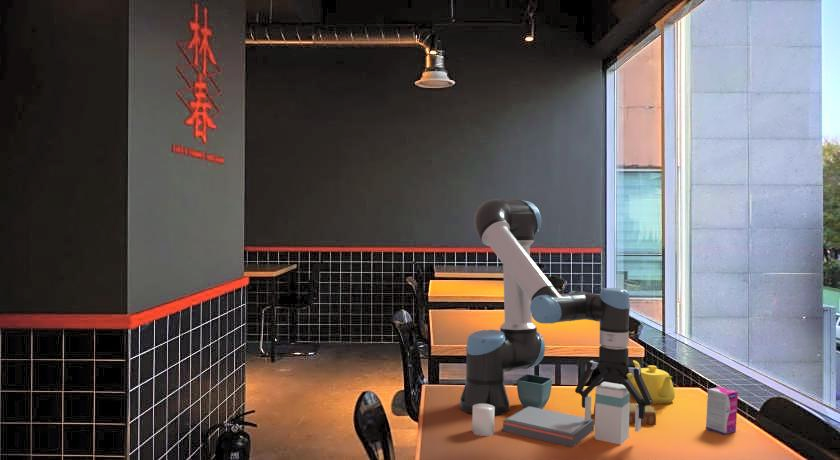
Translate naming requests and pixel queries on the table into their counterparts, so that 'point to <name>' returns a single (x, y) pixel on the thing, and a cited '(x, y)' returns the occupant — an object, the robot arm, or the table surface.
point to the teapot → (655, 384)
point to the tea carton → (612, 412)
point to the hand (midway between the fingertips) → (612, 425)
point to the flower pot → (534, 390)
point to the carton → (648, 419)
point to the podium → (549, 426)
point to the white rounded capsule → (483, 419)
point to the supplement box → (721, 410)
